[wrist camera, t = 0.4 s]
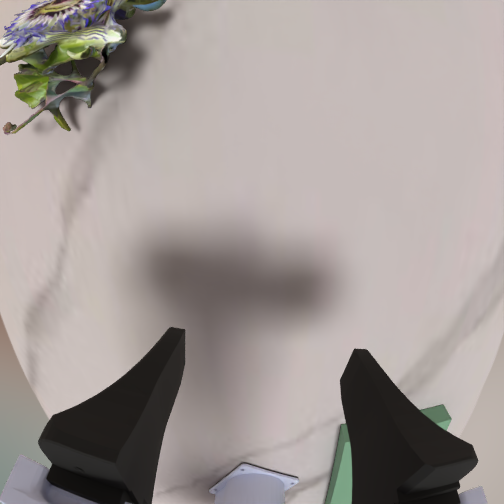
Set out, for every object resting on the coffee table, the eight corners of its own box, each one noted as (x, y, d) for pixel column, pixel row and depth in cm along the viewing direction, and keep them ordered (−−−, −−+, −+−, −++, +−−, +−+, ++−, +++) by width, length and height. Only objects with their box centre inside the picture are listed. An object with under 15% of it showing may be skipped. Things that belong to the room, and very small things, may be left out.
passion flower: (134, 35, 22) (184, -46, 12) (121, 145, 24) (163, 99, 14) (18, 32, 16) (12, -55, 6) (-6, 149, 18) (-53, 104, 8)
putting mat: (395, 500, 35) (398, 511, 32) (322, 513, 36) (323, 525, 33) (443, 404, 27) (451, 419, 25) (341, 424, 28) (345, 442, 26)
